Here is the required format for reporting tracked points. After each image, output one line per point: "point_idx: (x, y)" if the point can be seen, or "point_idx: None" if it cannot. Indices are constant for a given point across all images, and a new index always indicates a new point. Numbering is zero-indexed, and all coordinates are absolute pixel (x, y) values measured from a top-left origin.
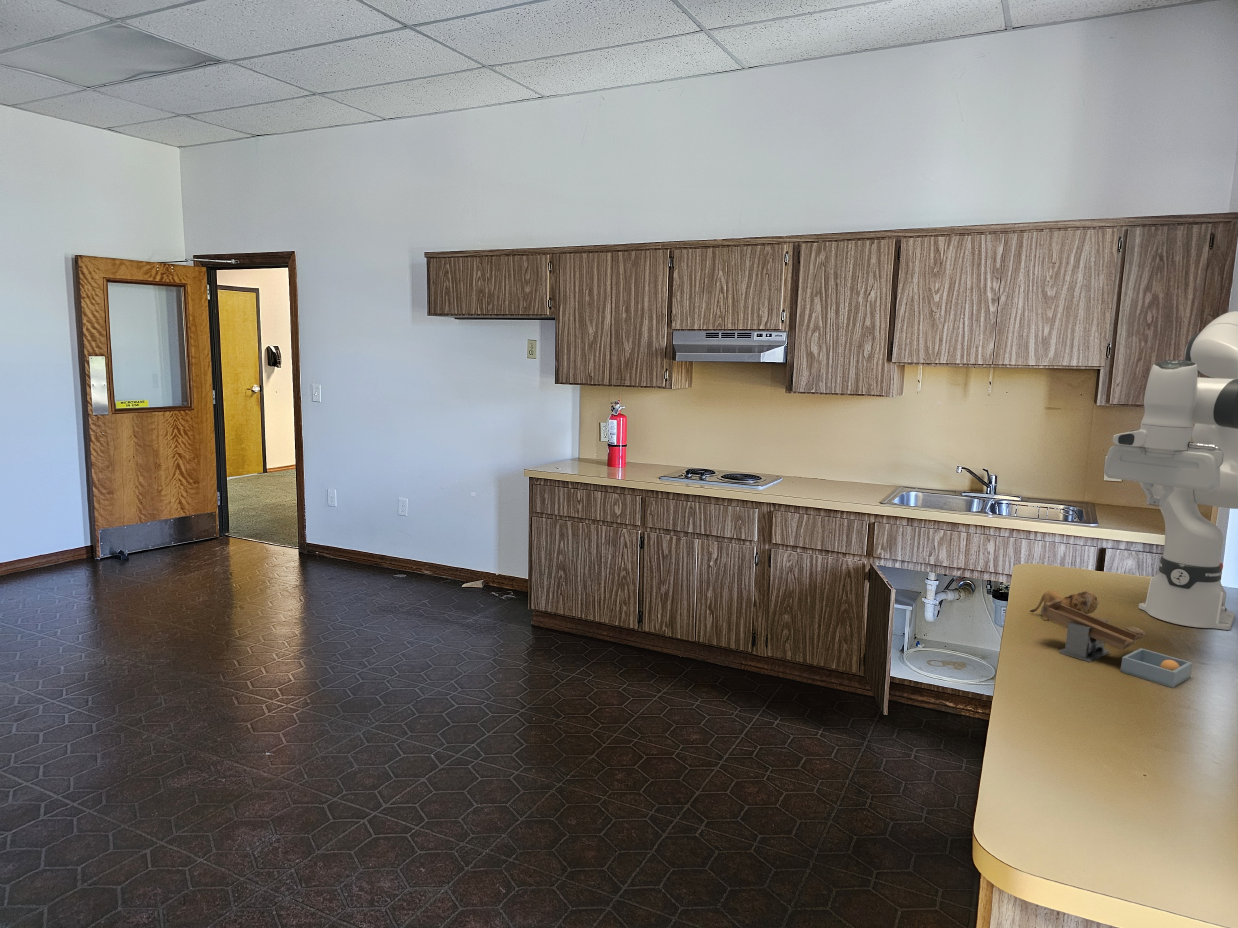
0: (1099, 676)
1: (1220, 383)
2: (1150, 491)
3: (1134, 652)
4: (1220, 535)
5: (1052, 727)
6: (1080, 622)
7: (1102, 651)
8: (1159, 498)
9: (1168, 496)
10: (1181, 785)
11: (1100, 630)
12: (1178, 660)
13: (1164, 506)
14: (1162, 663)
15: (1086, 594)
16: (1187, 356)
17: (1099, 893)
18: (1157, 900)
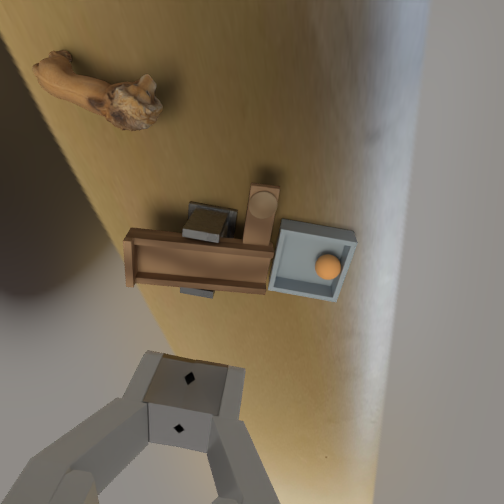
0: (253, 309)
1: None
2: (108, 455)
3: (277, 257)
4: None
5: (256, 431)
6: (194, 287)
7: (230, 224)
8: (207, 452)
9: (250, 440)
10: (349, 457)
11: (227, 290)
12: (337, 243)
13: (244, 371)
14: (318, 274)
15: (129, 123)
16: None
17: None
18: None
